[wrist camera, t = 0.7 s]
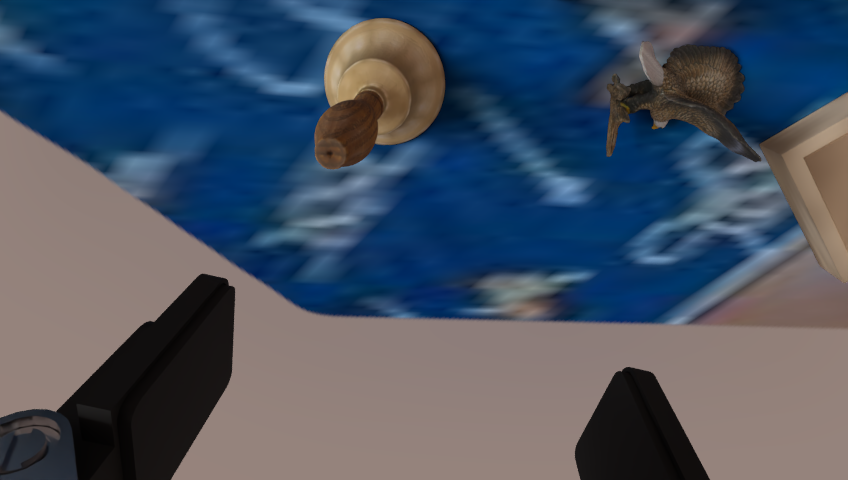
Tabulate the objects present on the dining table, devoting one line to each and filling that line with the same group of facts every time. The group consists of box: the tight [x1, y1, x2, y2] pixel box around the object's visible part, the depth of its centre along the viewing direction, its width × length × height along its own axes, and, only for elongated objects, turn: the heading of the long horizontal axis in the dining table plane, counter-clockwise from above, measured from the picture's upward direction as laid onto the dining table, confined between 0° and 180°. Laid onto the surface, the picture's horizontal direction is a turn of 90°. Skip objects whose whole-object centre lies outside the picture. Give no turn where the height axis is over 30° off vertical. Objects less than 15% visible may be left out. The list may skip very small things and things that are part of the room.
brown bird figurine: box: [606, 41, 761, 162], centre depth 29 cm, size 8×7×9 cm
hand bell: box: [315, 18, 445, 169], centre depth 25 cm, size 8×8×16 cm
